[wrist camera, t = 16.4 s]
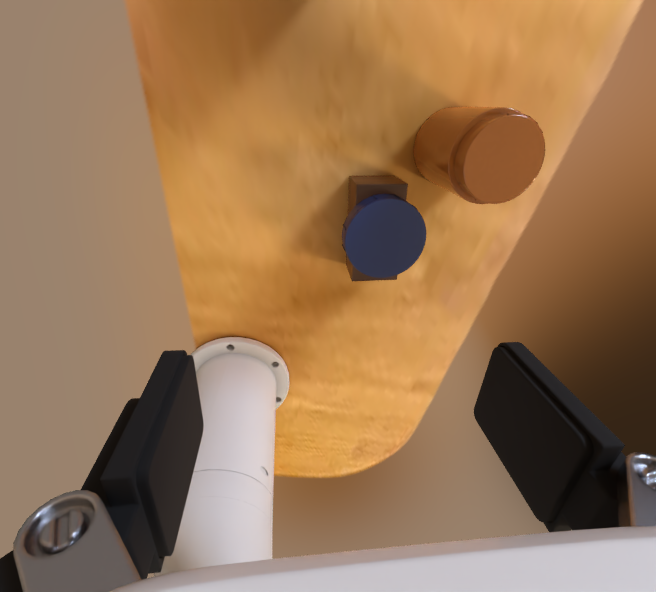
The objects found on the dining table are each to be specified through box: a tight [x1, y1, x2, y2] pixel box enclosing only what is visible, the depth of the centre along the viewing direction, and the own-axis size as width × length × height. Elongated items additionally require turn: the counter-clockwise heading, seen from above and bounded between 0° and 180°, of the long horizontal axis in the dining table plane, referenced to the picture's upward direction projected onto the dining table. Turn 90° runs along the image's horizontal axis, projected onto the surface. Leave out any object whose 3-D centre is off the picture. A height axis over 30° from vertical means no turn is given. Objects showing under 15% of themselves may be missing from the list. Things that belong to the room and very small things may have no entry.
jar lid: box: [342, 194, 426, 278], centre depth 31 cm, size 7×7×2 cm
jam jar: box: [414, 107, 545, 204], centre depth 29 cm, size 7×7×10 cm
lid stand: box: [346, 176, 408, 281], centre depth 34 cm, size 9×4×4 cm, turn 179°
